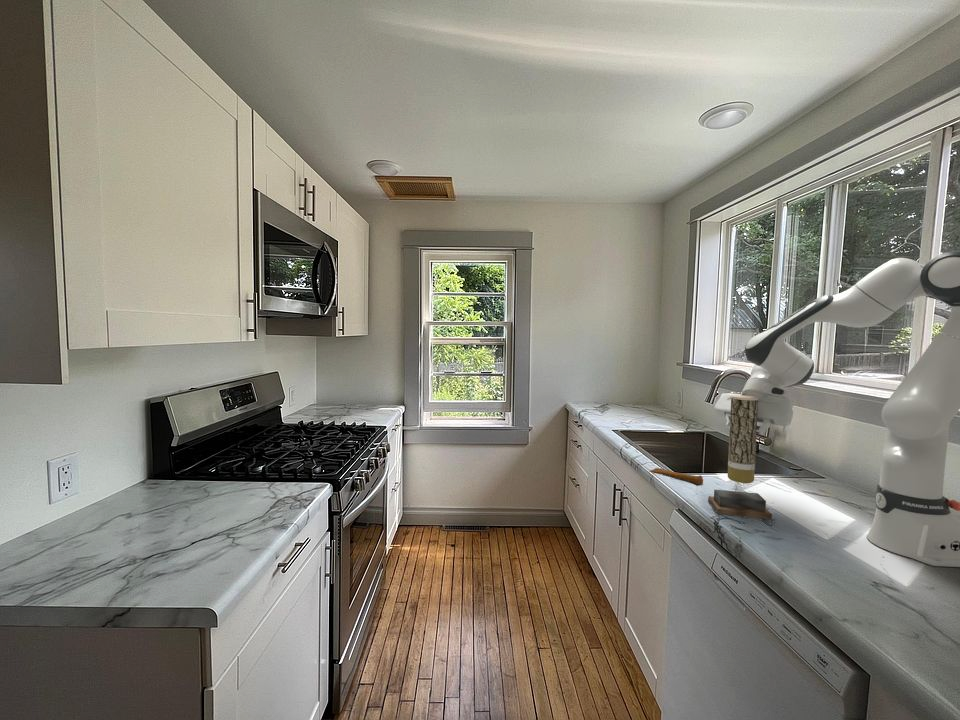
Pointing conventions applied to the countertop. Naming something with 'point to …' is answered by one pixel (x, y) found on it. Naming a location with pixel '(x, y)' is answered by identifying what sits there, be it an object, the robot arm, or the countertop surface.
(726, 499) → the stand
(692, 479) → the primitive tool
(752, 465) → the bark patterned cylinder
